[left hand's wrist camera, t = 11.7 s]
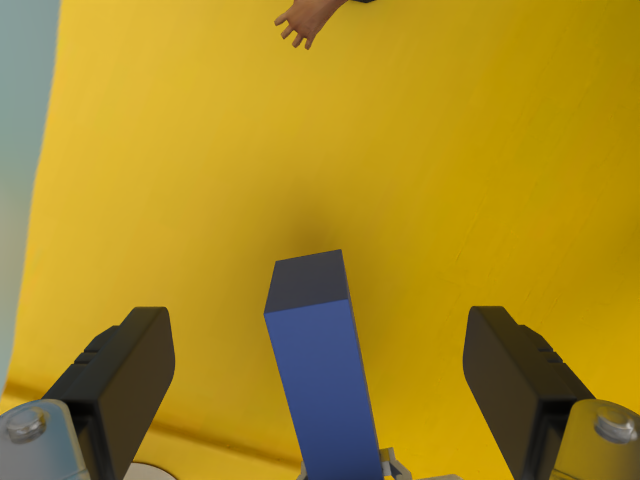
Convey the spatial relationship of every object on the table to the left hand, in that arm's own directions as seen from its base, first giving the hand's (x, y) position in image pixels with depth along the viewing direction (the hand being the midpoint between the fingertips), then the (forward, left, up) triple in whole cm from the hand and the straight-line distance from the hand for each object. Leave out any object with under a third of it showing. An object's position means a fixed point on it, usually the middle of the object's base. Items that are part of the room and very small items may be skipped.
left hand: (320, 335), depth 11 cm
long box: (+17, +11, -27) cm, 34 cm away
